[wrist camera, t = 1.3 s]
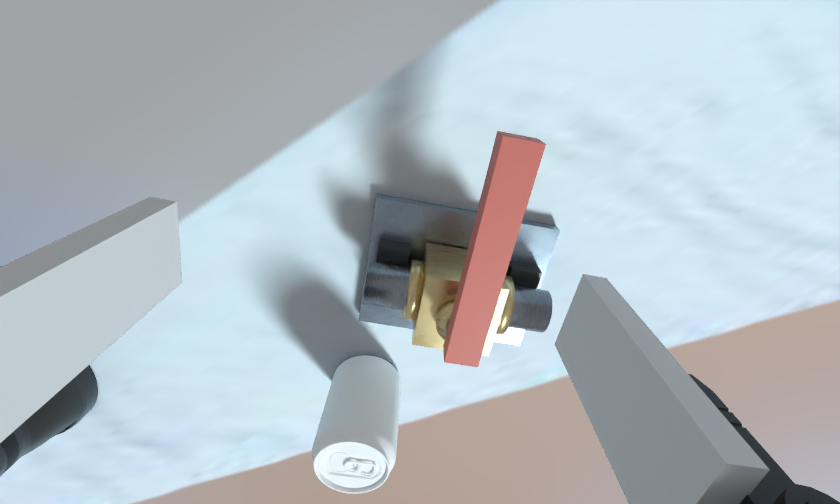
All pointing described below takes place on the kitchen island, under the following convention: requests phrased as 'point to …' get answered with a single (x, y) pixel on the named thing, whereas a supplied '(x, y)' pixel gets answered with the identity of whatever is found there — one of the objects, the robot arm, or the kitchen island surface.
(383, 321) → the valve fixture
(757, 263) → the kitchen island surface
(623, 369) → the robot arm
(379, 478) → the beverage can
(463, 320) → the lever
